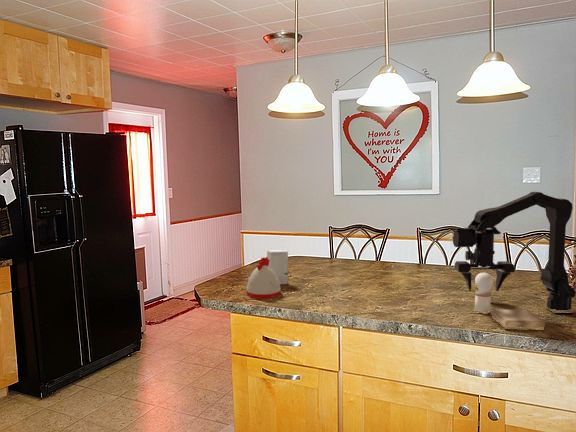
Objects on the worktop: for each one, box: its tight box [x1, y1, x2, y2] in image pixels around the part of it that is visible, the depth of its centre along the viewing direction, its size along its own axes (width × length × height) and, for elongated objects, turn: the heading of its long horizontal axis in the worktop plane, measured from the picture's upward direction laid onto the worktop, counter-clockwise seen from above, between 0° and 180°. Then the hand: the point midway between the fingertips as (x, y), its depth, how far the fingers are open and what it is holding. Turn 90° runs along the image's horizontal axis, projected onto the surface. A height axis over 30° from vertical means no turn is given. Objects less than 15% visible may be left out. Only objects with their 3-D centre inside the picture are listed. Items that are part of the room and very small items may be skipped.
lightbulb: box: [474, 272, 494, 292], centre depth 177 cm, size 6×6×11 cm
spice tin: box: [474, 290, 492, 312], centre depth 163 cm, size 5×5×7 cm
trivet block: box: [490, 309, 546, 328], centre depth 151 cm, size 12×12×3 cm
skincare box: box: [266, 249, 289, 286], centre depth 206 cm, size 8×6×15 cm
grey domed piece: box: [246, 256, 282, 299], centre depth 190 cm, size 14×14×15 cm
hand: (483, 290), depth 163 cm, fingers open, 9 cm apart
